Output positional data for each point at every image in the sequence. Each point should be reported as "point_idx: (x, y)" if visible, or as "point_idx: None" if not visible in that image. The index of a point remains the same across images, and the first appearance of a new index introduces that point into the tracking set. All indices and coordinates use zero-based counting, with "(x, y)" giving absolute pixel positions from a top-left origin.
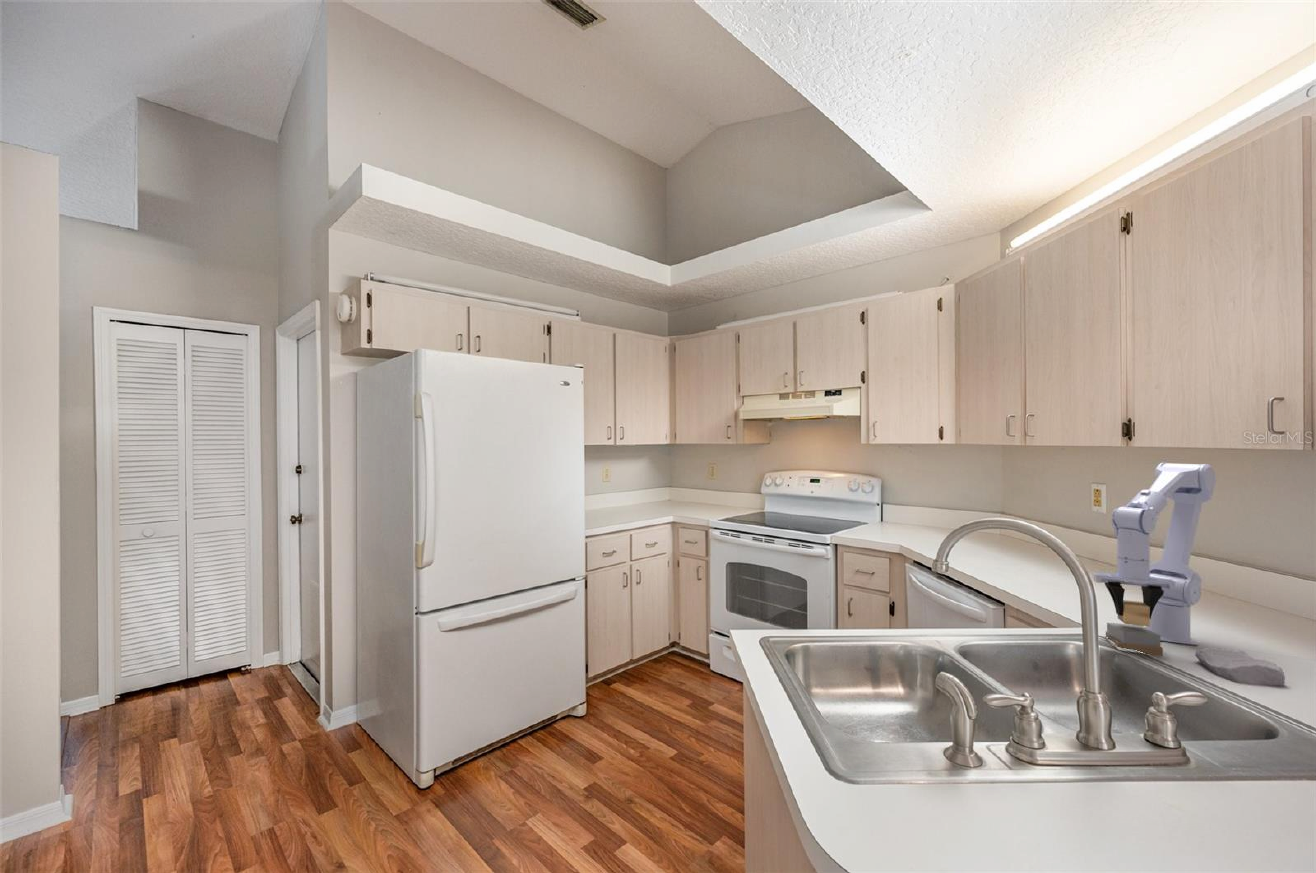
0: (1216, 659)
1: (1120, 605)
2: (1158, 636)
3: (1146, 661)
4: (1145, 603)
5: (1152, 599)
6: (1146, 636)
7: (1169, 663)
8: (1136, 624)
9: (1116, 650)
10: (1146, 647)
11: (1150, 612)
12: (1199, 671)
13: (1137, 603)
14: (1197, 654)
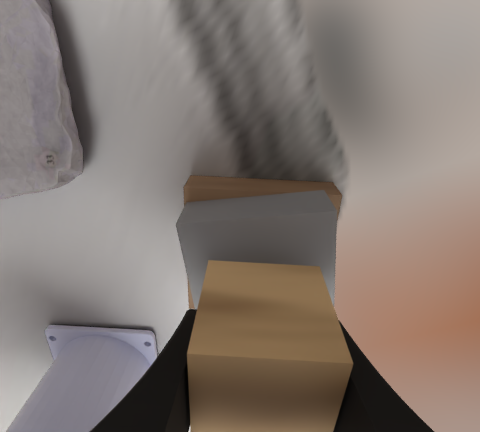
0: (11, 76)
1: (361, 367)
2: (184, 221)
3: (281, 78)
4: (184, 418)
5: (145, 427)
6: (234, 215)
7: (195, 93)
8: (267, 265)
9: (338, 182)
10: (240, 187)
11: (183, 334)
12: (110, 28)
13: (237, 410)
14: (73, 136)
